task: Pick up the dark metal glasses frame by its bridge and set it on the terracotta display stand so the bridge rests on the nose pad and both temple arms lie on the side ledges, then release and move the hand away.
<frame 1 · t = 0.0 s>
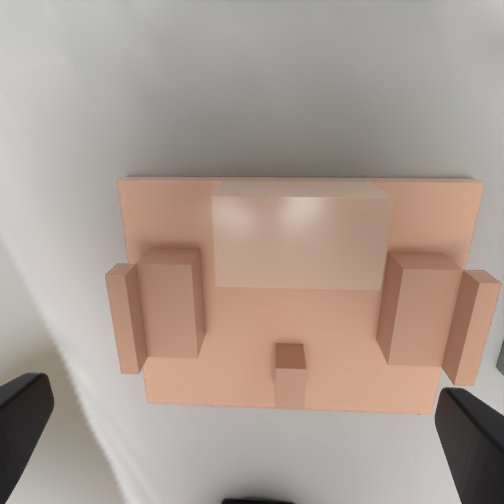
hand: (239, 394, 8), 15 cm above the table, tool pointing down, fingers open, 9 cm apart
display stand: (289, 298, 24), on the table
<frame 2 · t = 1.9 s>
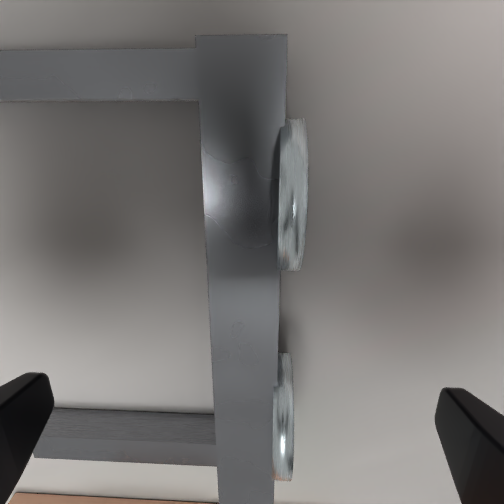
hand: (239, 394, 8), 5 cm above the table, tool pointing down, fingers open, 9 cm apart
glasses frame: (250, 285, 13), on the table
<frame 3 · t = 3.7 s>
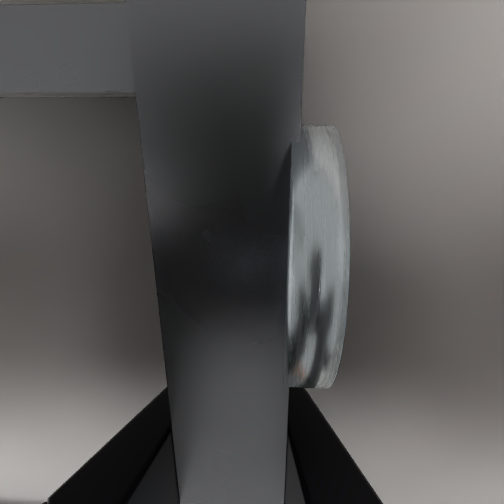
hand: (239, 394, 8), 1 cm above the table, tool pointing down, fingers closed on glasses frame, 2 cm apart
glasses frame: (243, 359, 9), on the table, touching gripper
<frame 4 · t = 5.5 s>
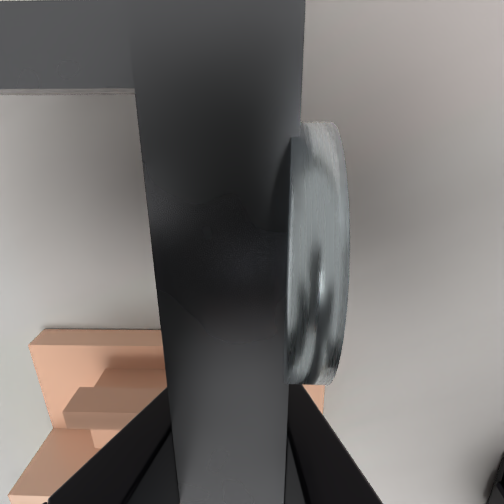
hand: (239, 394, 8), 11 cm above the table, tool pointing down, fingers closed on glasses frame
display stand: (195, 456, 24), on the table
glasses frame: (242, 358, 9), point 9 cm above the table, touching gripper
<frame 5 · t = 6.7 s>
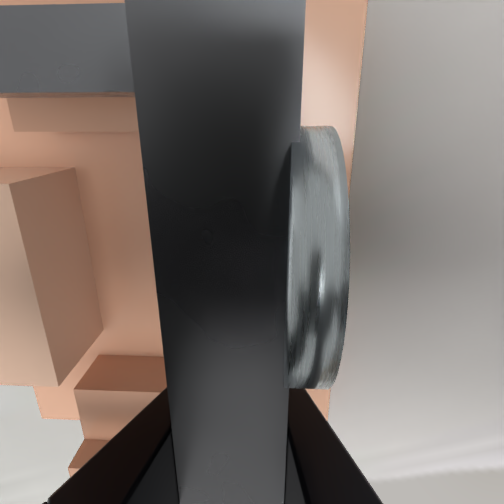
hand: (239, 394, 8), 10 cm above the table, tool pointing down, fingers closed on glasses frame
display stand: (173, 245, 17), on the table
glasses frame: (243, 360, 9), point 9 cm above the table, touching gripper
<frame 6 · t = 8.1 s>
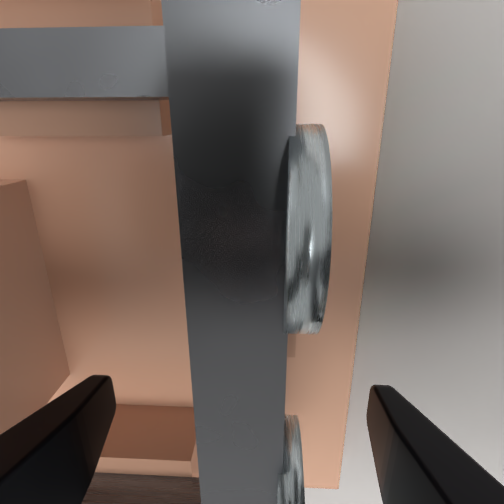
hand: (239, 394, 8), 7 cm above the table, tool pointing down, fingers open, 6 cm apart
display stand: (154, 272, 14), on the table
glasses frame: (247, 330, 10), point 4 cm above the table, touching display stand
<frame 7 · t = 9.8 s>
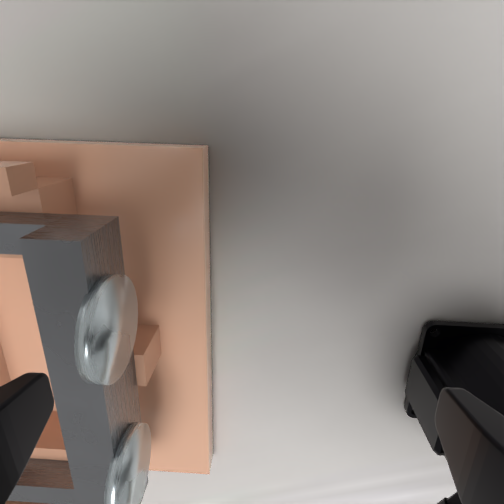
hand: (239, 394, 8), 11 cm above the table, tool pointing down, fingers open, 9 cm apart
display stand: (74, 319, 21), on the table
glasses frame: (114, 369, 17), point 4 cm above the table, touching display stand
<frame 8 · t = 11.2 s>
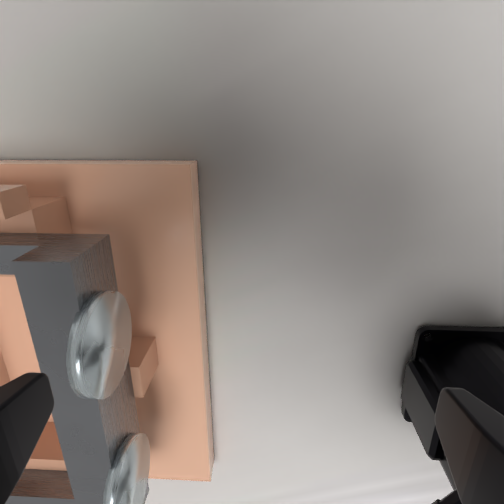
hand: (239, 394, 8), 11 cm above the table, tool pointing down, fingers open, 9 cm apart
display stand: (74, 332, 21), on the table
glasses frame: (112, 381, 17), point 4 cm above the table, touching display stand
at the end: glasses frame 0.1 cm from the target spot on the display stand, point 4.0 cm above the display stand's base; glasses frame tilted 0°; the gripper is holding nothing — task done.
